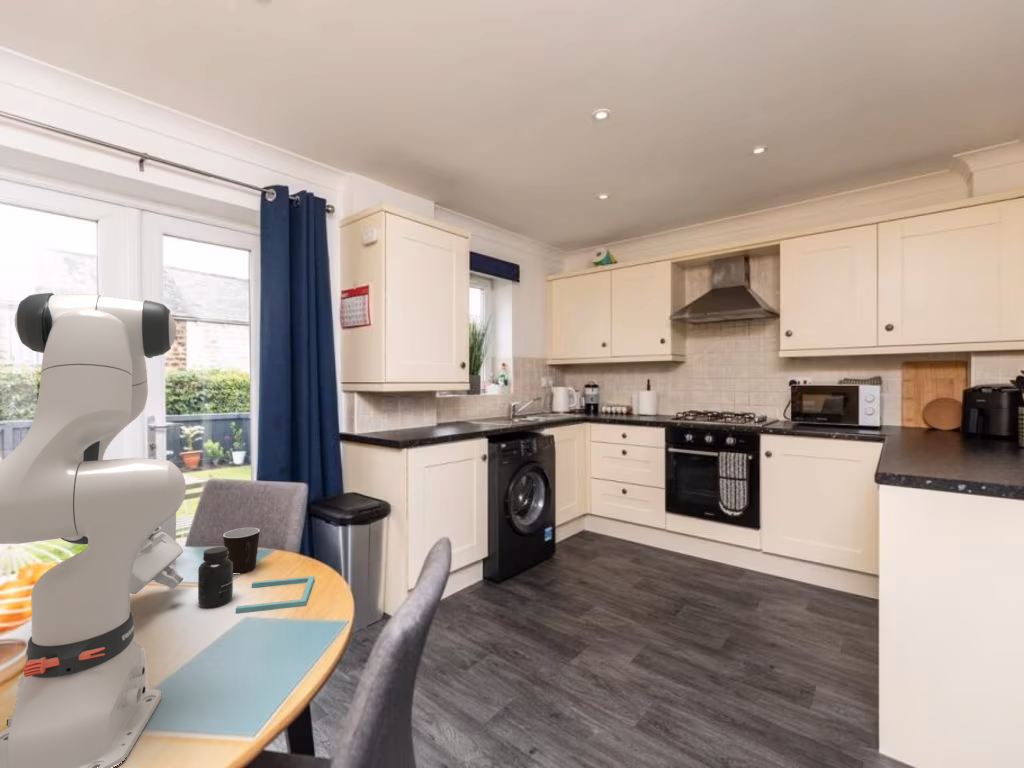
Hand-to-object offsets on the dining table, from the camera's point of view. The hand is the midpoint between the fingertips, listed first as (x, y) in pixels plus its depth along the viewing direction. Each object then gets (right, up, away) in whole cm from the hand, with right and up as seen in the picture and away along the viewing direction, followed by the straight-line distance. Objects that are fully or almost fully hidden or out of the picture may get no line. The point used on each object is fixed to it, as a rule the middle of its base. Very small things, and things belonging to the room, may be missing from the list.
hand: (178, 584), depth 109 cm
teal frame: (+20, -5, +5) cm, 21 cm away
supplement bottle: (+7, -5, +2) cm, 9 cm away
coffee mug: (+3, -5, +19) cm, 20 cm away
